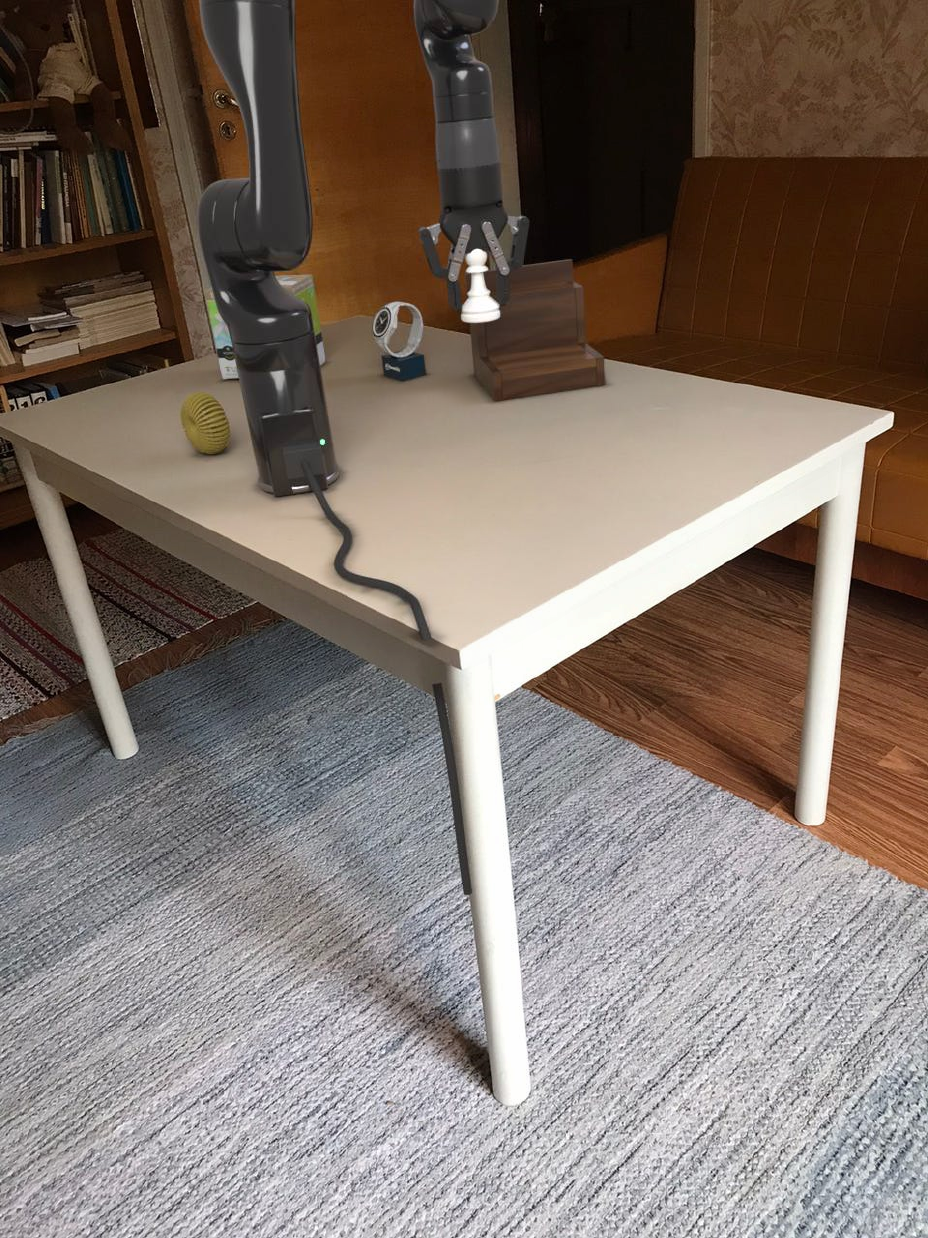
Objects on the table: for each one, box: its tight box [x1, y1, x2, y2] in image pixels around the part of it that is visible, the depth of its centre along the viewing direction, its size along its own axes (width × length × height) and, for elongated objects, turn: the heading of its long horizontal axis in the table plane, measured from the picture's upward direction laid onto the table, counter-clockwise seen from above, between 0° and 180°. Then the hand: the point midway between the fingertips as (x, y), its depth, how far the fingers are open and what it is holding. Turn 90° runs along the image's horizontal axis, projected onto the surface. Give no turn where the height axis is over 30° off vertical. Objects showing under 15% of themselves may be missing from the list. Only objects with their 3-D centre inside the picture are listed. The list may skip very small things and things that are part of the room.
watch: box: [371, 301, 427, 382], centre depth 155 cm, size 6×8×11 cm
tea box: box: [204, 273, 326, 380], centre depth 164 cm, size 15×10×15 cm, turn 76°
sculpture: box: [180, 392, 231, 455], centre depth 130 cm, size 8×4×8 cm, turn 44°
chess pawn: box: [460, 249, 500, 324], centre depth 126 cm, size 5×5×9 cm
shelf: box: [464, 258, 606, 402], centre depth 144 cm, size 15×16×15 cm
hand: (480, 307), depth 128 cm, fingers closed on chess pawn, 5 cm apart
